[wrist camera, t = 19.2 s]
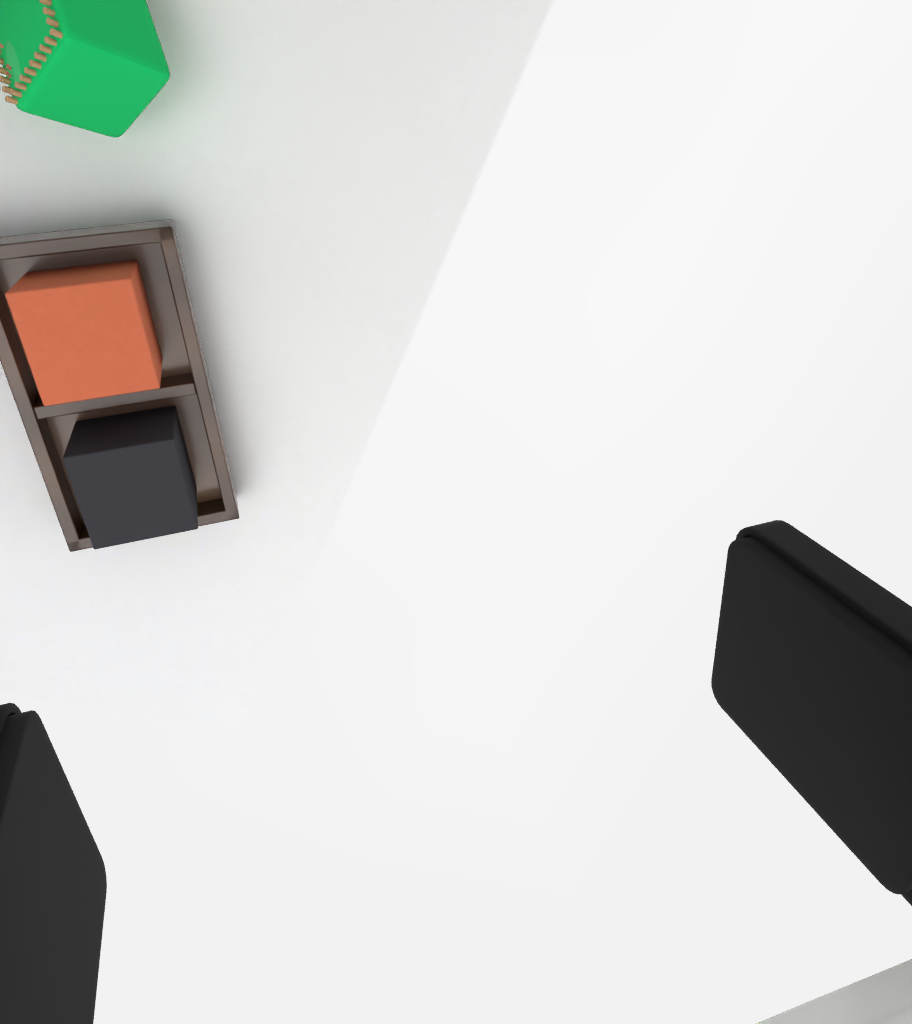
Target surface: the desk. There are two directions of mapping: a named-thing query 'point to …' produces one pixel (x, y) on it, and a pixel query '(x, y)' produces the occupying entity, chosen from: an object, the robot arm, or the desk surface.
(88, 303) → the orange cube
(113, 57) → the building blocks
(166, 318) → the divided wooden tray
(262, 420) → the desk surface
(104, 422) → the charcoal cube
